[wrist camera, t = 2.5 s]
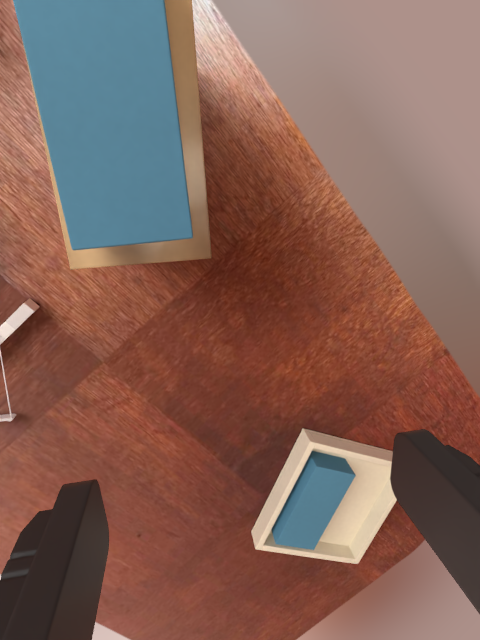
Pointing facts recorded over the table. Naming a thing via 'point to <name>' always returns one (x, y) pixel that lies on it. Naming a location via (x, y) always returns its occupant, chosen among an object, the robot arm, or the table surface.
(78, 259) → the tan wooden block
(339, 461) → the blue brick
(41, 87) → the blue rectangular block
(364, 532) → the cream tray
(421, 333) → the table surface
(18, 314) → the crossbow
